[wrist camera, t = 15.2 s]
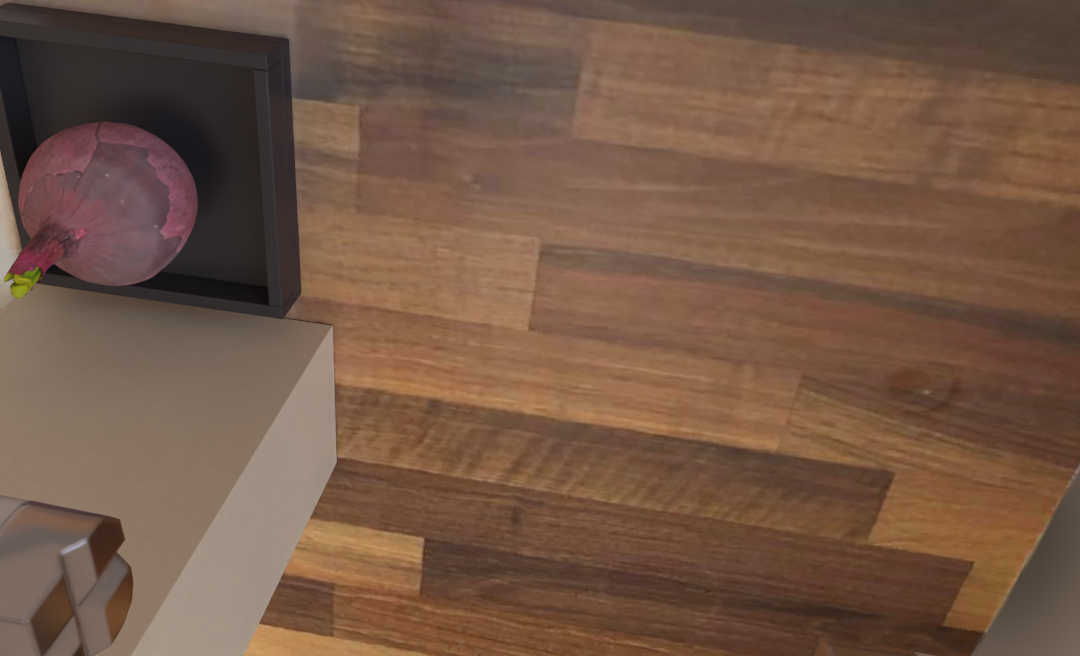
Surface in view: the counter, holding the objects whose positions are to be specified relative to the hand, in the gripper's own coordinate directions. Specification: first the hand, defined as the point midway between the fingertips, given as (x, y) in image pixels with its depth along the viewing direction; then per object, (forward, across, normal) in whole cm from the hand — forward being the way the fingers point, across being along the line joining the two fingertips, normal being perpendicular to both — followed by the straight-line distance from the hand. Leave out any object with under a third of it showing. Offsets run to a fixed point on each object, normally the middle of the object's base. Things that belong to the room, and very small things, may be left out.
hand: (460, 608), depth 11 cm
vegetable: (+26, +18, +8) cm, 33 cm away
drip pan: (+27, +18, +8) cm, 33 cm away
